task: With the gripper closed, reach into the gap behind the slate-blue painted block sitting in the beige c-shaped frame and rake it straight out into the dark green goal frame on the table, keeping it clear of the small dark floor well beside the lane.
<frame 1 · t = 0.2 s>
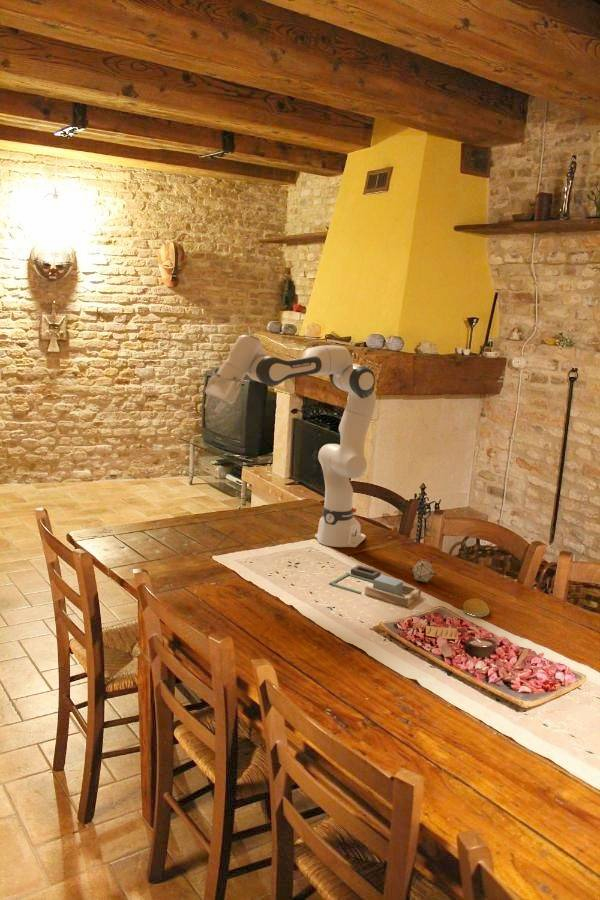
hand: (211, 410, 258), 54 cm above the table, tool tilted 30°, fingers open, 8 cm apart
bread roll: (475, 612, 237), on the table
game die: (421, 582, 259), on the table
beige c-shaped frame: (392, 595, 245), on the table
goal frame: (354, 583, 253), on the table
block: (387, 594, 246), resting in beige c-shaped frame
well: (365, 575, 261), on the table
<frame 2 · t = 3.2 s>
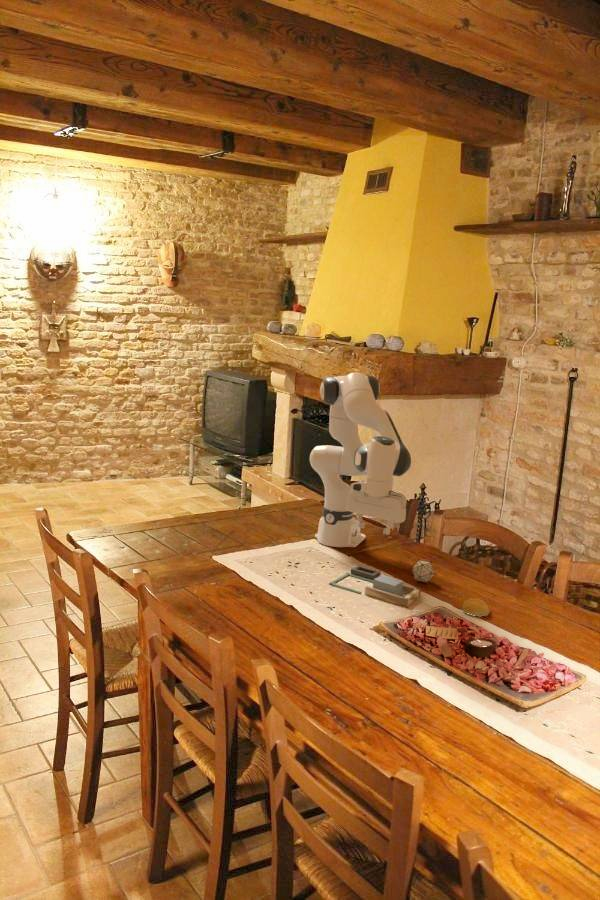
hand: (373, 530, 234), 24 cm above the table, tool pointing down, fingers open, 8 cm apart
nothing on the table moved.
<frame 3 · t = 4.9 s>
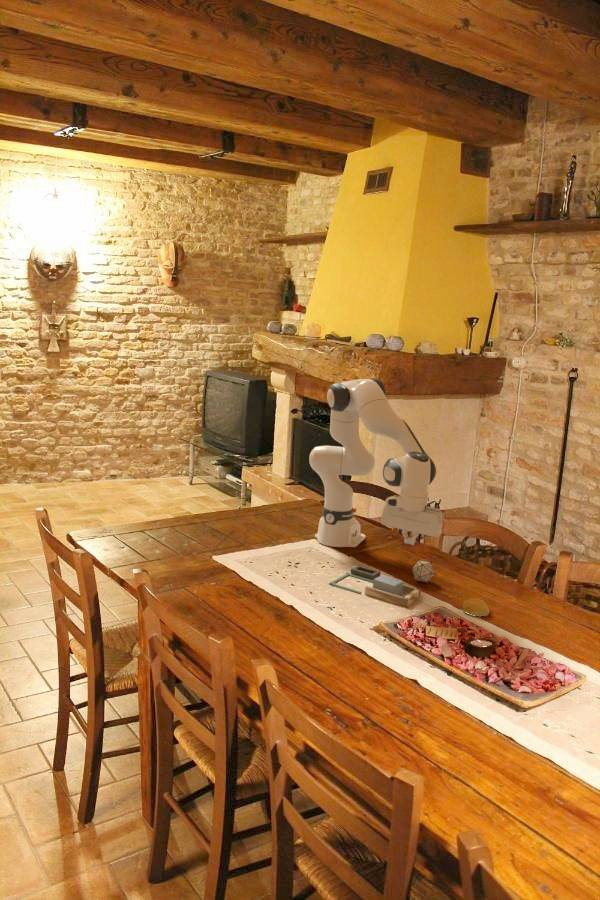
hand: (409, 543, 239), 19 cm above the table, tool pointing down, fingers closed
nothing on the table moved.
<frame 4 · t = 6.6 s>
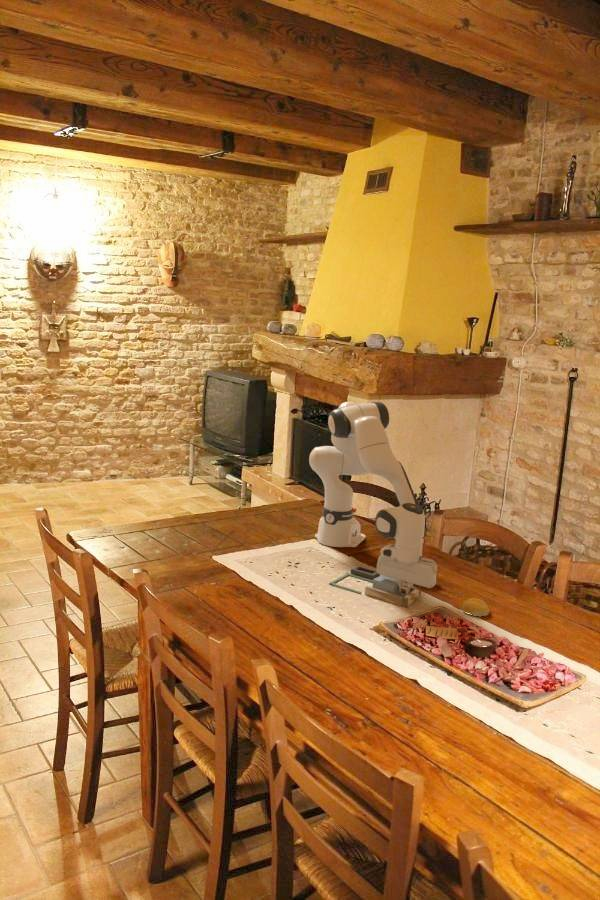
hand: (404, 593, 243), 2 cm above the table, tool pointing down, fingers closed
nothing on the table moved.
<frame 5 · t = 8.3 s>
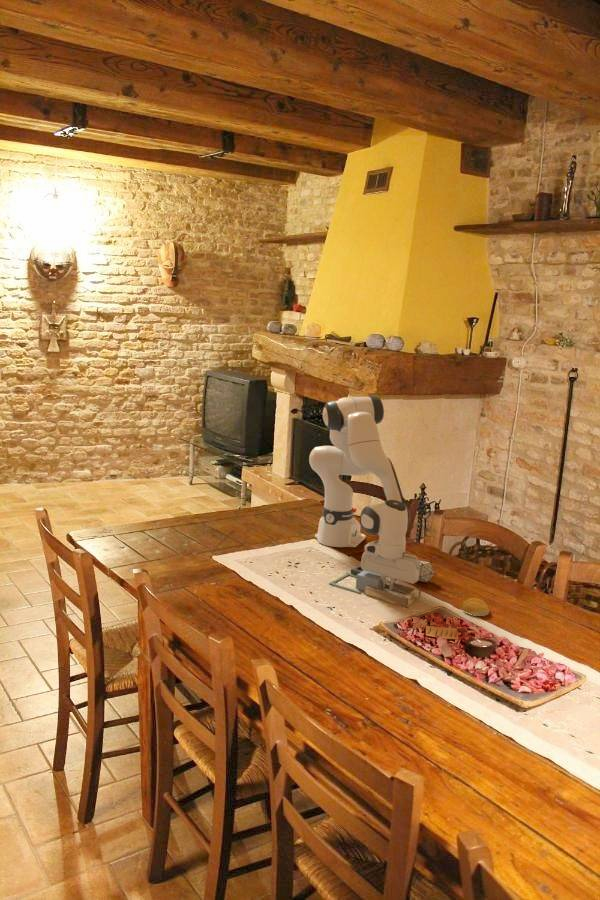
hand: (387, 588, 246), 2 cm above the table, tool pointing down, fingers closed
block: (370, 589, 249), on the table, touching gripper
everything else where it was.
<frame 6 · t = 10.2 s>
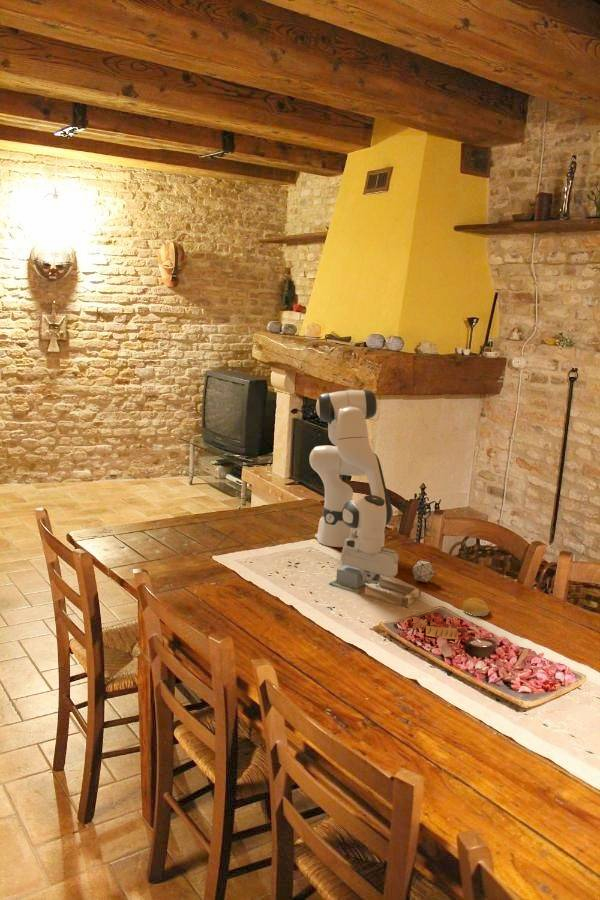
hand: (367, 582, 250), 2 cm above the table, tool pointing down, fingers closed
block: (350, 583, 253), on the table, touching goal frame, gripper
everything else where it was.
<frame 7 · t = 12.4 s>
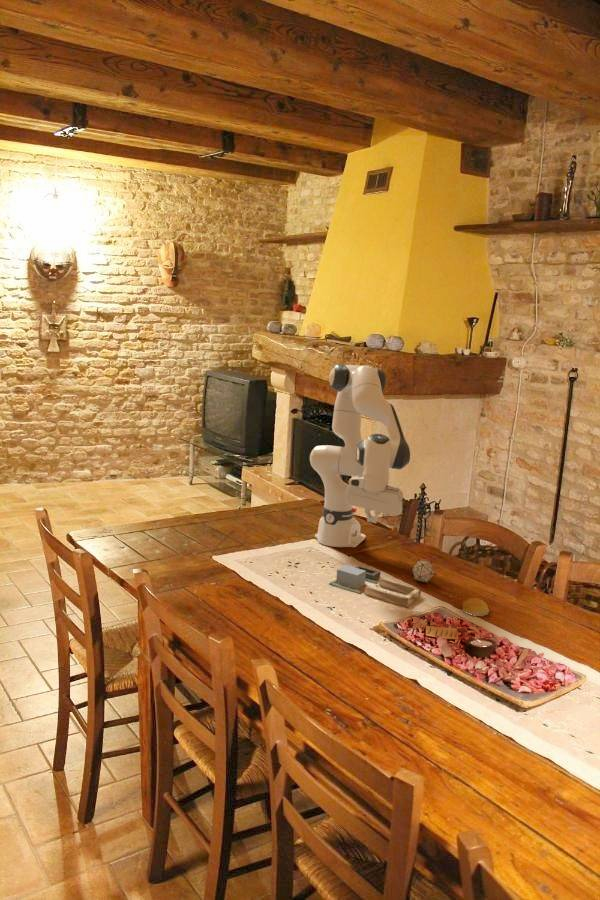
hand: (371, 522, 250), 22 cm above the table, tool pointing down, fingers closed
block: (350, 583, 253), on the table
everything else where it was.
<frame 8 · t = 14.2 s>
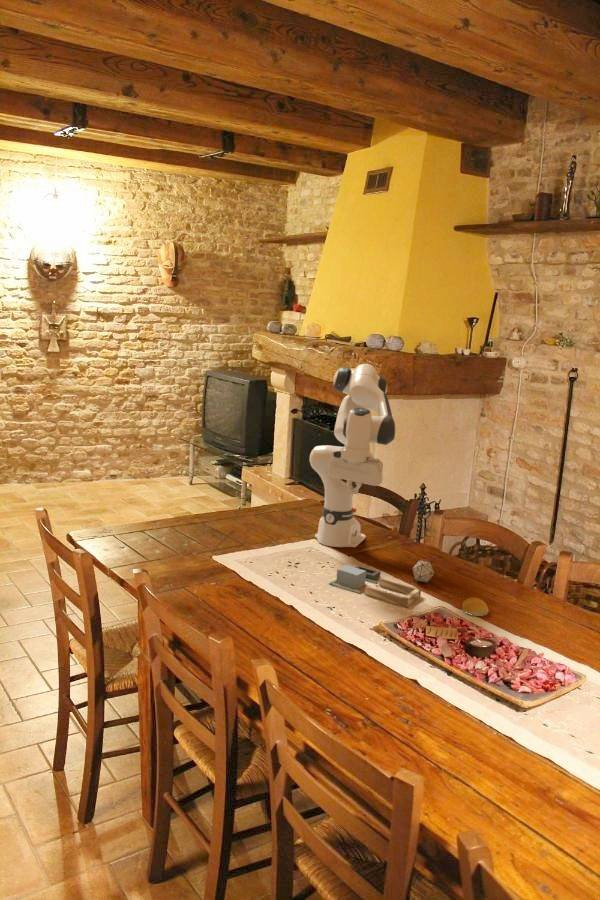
hand: (353, 493, 258), 29 cm above the table, tool pointing down, fingers closed
nothing on the table moved.
at the end: block inside the target area (1.4 cm from its centre), on the table; block tilted 0°; block moved 13.9 cm from its start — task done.
